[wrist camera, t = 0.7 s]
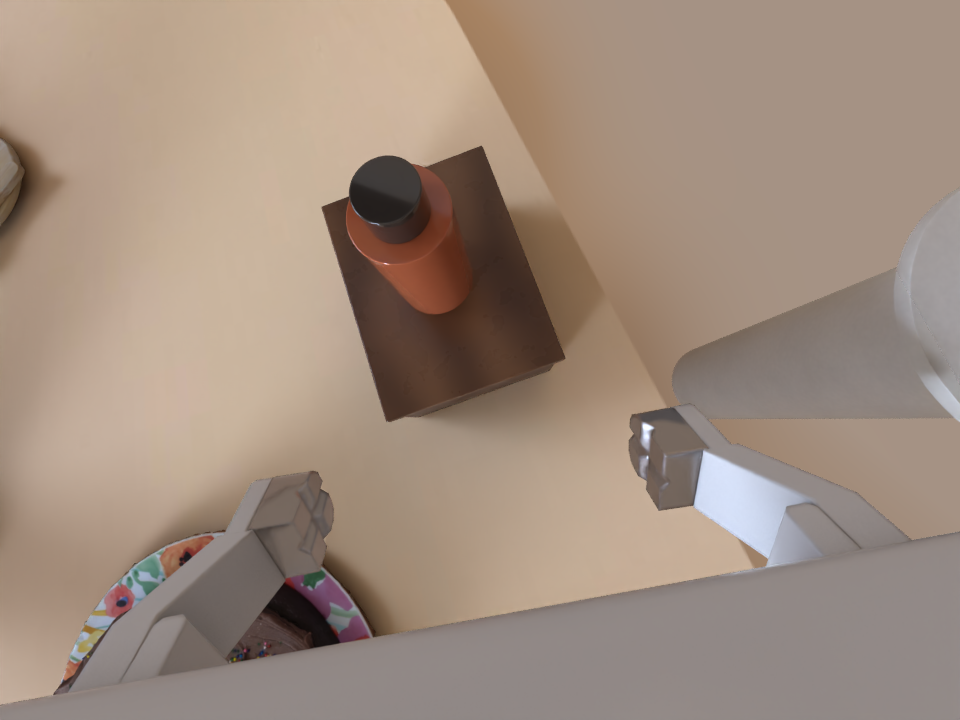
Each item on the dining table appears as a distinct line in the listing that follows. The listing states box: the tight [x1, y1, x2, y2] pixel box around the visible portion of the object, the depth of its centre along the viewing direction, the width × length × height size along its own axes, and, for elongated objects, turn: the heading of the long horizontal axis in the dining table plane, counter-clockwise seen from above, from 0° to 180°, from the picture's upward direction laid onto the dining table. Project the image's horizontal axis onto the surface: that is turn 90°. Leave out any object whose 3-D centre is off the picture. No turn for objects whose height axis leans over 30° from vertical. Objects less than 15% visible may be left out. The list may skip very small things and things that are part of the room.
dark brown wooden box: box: [322, 146, 565, 422], centre depth 32 cm, size 13×17×8 cm
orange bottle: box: [346, 156, 473, 314], centre depth 23 cm, size 5×5×11 cm
